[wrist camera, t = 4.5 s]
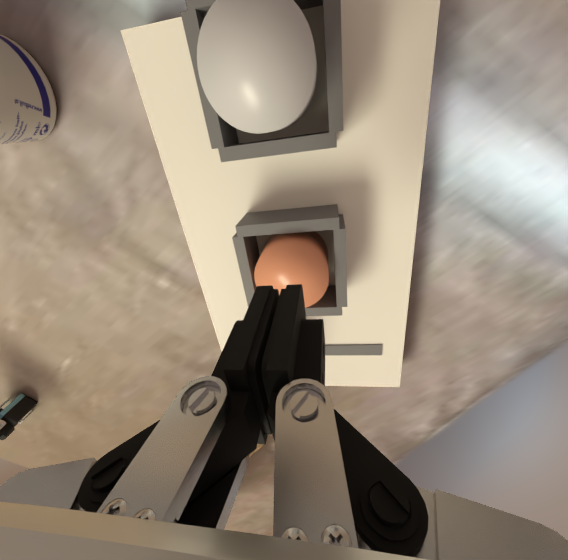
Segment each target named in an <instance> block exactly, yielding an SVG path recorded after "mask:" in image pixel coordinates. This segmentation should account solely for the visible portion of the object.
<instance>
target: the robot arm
mask: <svg viewBox="0 0 568 560" xmlns="http://www.w3.org/2000/svg"><path fill="white" fill-rule="evenodd" d="M272 433H273V437H274V440H275V469H274V524H273V536H265V535H258V534H251V533H244V532H236V531H229V530H224V528H225V526H226V523H227V520H228V518H229V515H230V512H231V509H232V507H233V504H234V501H235V498H236V496H237V493H238V490H239V488H240V485H241V482H242V479H243V477H244V474H245V471H246V468H247V466H248V462H249V454H251V453H252V452H253V451H254V450H256V448H257V444H266V438H267V434H272ZM0 560H568V540H566V539H565V538H564V537H563V536H561V535H560V534H559V533H558V532H556V531H554V530H552V529H550V528H548V527H546V526H544V525H542V524H540V523H537V522H534V521H531V520H528V519H525V518H522V517H519V516H516V515H513V514H510V513H507V512H504V511H501V510H498V509H495V508H492V507H489V506H486V505H483V504H480V503H477V502H474V501H471V500H468V499H465V498H462V497H459V496H456V495H453V494H450V493H446V492H444V491H440V490H438V489H436V490H435V492H431V491H428V490H425V489H422V488H420V487H416V486H415V485H414V484H413V483H412V482H411V480H410V479H409V478H408V477H407V476H405V475H404V474H403V473H402V472H401V471H400V470H399V469H398V468H397V467H396V466H395V465H394V464H393V463H392V462H390V461H389V460H388V459H387V458H386V457H385V456H384V455H383V454H382V453H381V452H380V451H379V450H378V449H376V448H375V447H374V446H373V445H372V444H371V443H370V442H369V441H368V440H367V439H366V438H365V437H364V436H362V435H361V434H360V433H359V432H358V431H357V430H356V429H355V428H354V427H353V426H352V425H351V424H350V423H349V422H347V421H346V420H345V419H344V418H343V417H342V416H341V415H340V414H339V413H338V412H337V411H336V410H335V409H333V403H332V398H331V396H330V393H329V391H328V390H327V388H326V387H325V334H324V322H323V319H306V312H305V303H304V294H303V287H302V284H295V285H287V286H286V289H281V292H280V296H279V291H278V289H274V288H273V286H272V285H269V286H257V287H256V290H255V292H254V295H253V297H252V300H251V302H250V305H249V307H248V309H247V312H246V314H245V317H244V319H243V320H237V321H236V322H235V324H234V326H233V328H232V330H231V333H230V335H229V337H228V340H227V342H226V344H225V346H224V349H223V351H222V353H221V355H220V358H219V360H218V362H217V364H216V367H215V369H214V371H213V373H212V376H205V377H201V378H198V379H196V380H194V381H191V382H190V383H189V384H187V385H186V386H185V387H184V388H183V389H182V390H181V391H180V392H179V394H178V395H177V397H176V398H175V400H174V401H173V402H172V404H171V405H170V407H169V408H168V410H167V411H166V413H165V414H164V415H163V417H162V418H161V420H159V421H157V422H156V423H154V424H153V425H151V426H150V427H148V428H146V429H145V430H143V431H142V432H140V433H138V434H137V435H135V436H134V437H132V438H131V439H129V440H127V441H126V442H124V443H123V444H121V445H119V446H118V447H116V448H115V449H113V450H112V451H110V452H108V453H107V454H106V455H104V456H103V457H102V458H100V459H99V460H98V461H96V459H95V458H89V459H83V460H78V461H72V462H67V463H61V464H56V465H50V466H44V467H39V468H33V469H28V470H25V471H23V472H20V473H18V474H16V475H15V476H13V477H11V478H10V479H8V480H7V481H6V482H5V483H3V484H2V485H1V486H0Z"/></svg>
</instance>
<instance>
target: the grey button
mask: <svg viewBox="0 0 568 560" xmlns="http://www.w3.org/2000/svg"><path fill="white" fill-rule="evenodd" d="M197 67H198V73H199V78H200V81H201V85H202V88H203V90H204V93H205V95H206V97H207V99H208V101H209V102H210V104H211V106H212V107H213V109H214V110H215V111H216V112H217V113H218V115H219V116H220V117H221V118H222V119H223V120H224V121H226V122H227V123H228V124H230V125H231V126H233V127H235V128H237V129H239V130H242V131H244V132H249V133H257V134H259V133H268V132H273V131H278V130H282V129H285V128H288V127H289V126H291V125H293V124H294V123H296V122H297V121H298V120H299V119H300V118H301V117H302V116H303V115H304V114H305V112H306V111H307V109H308V108H309V106H310V104H311V102H312V100H313V97H314V94H315V90H316V86H317V61H316V54H315V47H314V41H313V37H312V33H311V30H310V27H309V24H308V22H307V20H306V18H305V16H304V14H303V12H302V11H301V9H300V8H299V6H298V5H297V4H296V3H295V1H294V0H216V1H215V2H214V3H213V4H212V6H211V7H210V9H209V10H208V12H207V14H206V16H205V18H204V20H203V23H202V26H201V29H200V33H199V37H198V44H197Z"/></svg>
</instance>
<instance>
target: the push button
mask: <svg viewBox="0 0 568 560" xmlns="http://www.w3.org/2000/svg"><path fill="white" fill-rule="evenodd" d="M10 398H11V397H10ZM10 398H9V399H8V400H7V401H5V402H4V403H3V404H2V405H1V406H0V440H4V439H6V438H7V437H8V436H9V435H10V434H11V433H12V432H13V431H14V427H15V426H16V425H17V424H18V423H19V424H20V423H22V422H23V421H24V420H25V419H26V418H27V417H28V416H29V415H30V414H31V413H32V412H33V411H32V412H31V413H29V414H28V415H27V416H26V417H25V418H24V419H23V420H22V418H23V417H24V416H25V415H26V414H27V413H28V412H29V411H30V410H31V409H32V408H33V407H34V406H35V405H36V404H37V402H35V401H34V400H32V399H30V398H29V397H27V396H25V395H23V394H22V393H21V394H20V395H19V396H18V397H17V398H16V399H15V400H14V401H12V402H11V403H10V404H9V405H8V406H7V407H6V408H5V409H2V408H1V407H2V406H3V405H4V404H5V403H6V402H8V401H9V400H10Z"/></svg>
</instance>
